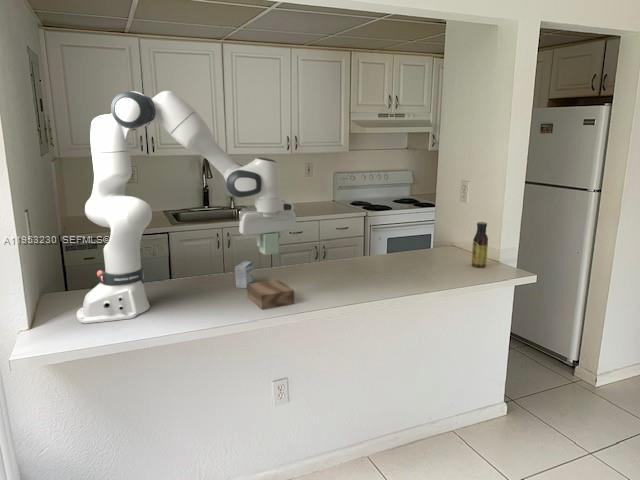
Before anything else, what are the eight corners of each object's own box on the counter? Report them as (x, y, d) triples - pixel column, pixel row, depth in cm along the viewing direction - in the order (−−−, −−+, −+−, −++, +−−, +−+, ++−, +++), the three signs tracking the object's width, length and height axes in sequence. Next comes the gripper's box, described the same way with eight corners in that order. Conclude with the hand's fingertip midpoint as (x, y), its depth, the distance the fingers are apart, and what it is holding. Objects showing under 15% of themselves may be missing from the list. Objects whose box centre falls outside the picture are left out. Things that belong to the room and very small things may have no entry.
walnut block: (261, 309, 161) (261, 295, 160) (247, 297, 173) (247, 284, 172) (293, 303, 167) (293, 290, 165) (277, 292, 178) (277, 279, 177)
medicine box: (246, 288, 183) (245, 267, 181) (235, 287, 183) (234, 266, 181) (253, 282, 190) (252, 261, 188) (243, 281, 191) (242, 261, 189)
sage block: (265, 254, 163) (264, 235, 161) (259, 251, 167) (259, 232, 165) (278, 253, 165) (278, 233, 163) (272, 250, 169) (272, 230, 168)
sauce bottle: (471, 263, 216) (474, 220, 212) (485, 264, 215) (489, 221, 210) (471, 267, 210) (474, 223, 206) (486, 268, 209) (489, 224, 204)
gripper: (241, 209, 155) (243, 250, 158) (298, 204, 164) (298, 243, 167) (235, 206, 160) (237, 246, 163) (290, 202, 169) (291, 240, 173)
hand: (268, 245), depth 165 cm, fingers closed on sage block, 5 cm apart
